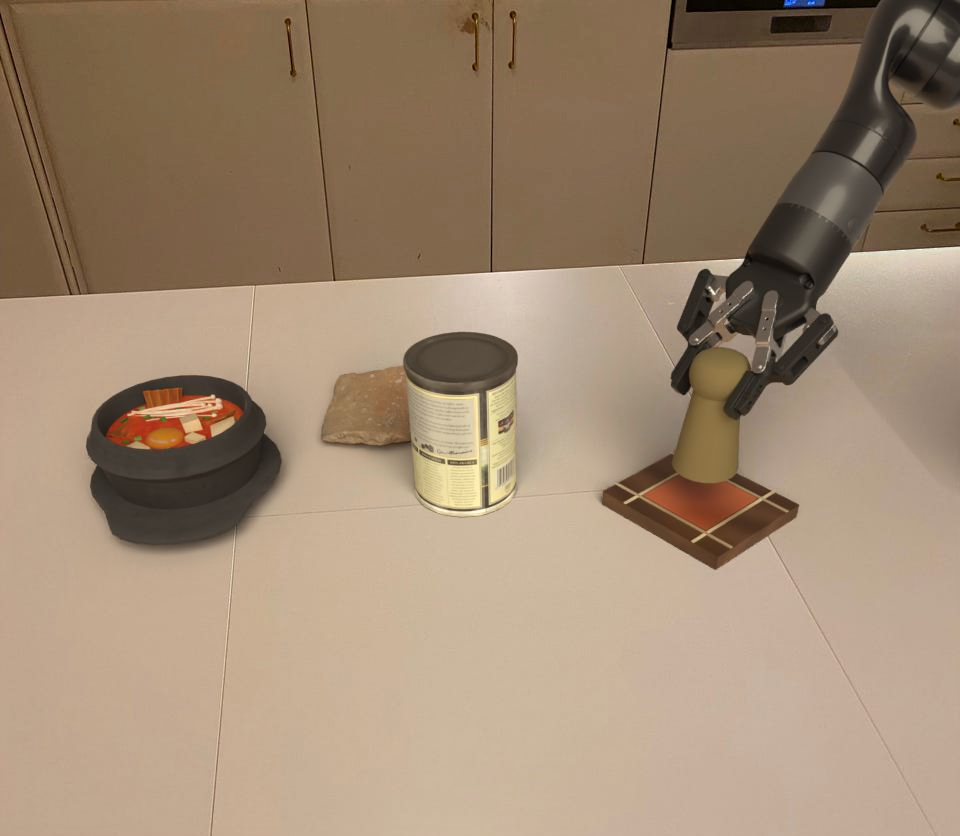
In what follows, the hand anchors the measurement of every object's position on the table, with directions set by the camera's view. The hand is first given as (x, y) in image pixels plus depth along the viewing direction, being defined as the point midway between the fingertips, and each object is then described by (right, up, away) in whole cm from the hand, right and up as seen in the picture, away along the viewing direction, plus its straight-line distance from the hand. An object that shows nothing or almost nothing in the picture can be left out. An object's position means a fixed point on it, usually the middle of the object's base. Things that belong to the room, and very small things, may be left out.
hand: (703, 402), depth 85 cm
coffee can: (-21, -6, +13) cm, 25 cm away
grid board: (+2, -8, +9) cm, 12 cm away
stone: (-30, +4, +23) cm, 38 cm away
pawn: (+1, -5, +6) cm, 8 cm away
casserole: (-48, -5, +14) cm, 51 cm away
